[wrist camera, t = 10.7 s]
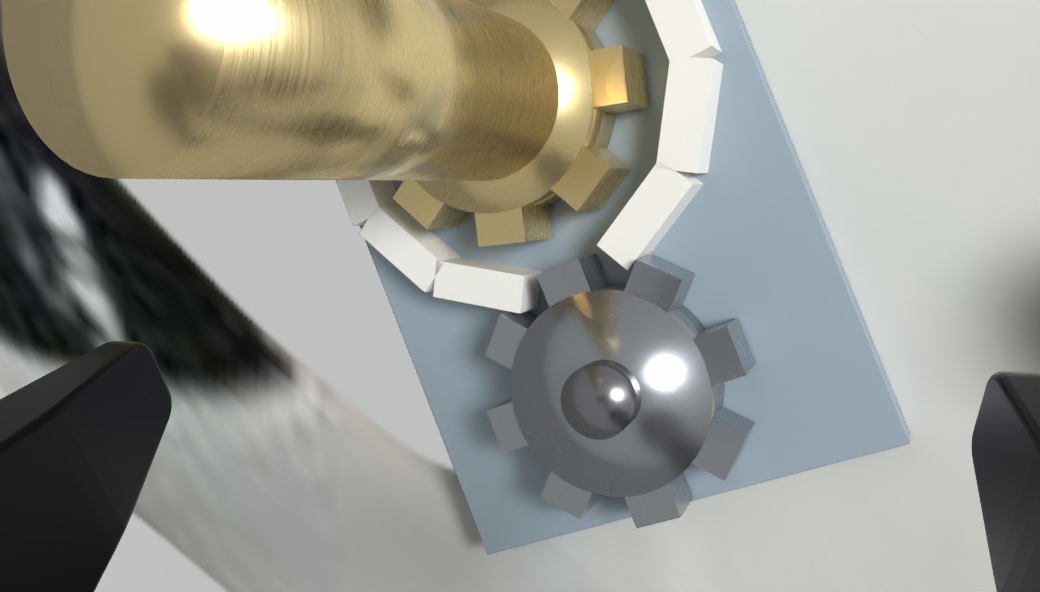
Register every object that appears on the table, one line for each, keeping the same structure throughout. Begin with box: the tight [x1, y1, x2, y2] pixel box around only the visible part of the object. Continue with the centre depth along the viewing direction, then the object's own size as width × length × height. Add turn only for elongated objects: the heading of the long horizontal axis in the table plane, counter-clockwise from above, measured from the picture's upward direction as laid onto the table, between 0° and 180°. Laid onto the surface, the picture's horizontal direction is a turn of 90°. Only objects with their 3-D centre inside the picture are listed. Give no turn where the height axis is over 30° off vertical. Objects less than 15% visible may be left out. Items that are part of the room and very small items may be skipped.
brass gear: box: [2, 0, 649, 247], centre depth 17 cm, size 7×7×13 cm
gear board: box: [336, 0, 910, 555], centre depth 23 cm, size 17×12×2 cm
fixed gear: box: [485, 254, 756, 528], centre depth 22 cm, size 7×7×2 cm
